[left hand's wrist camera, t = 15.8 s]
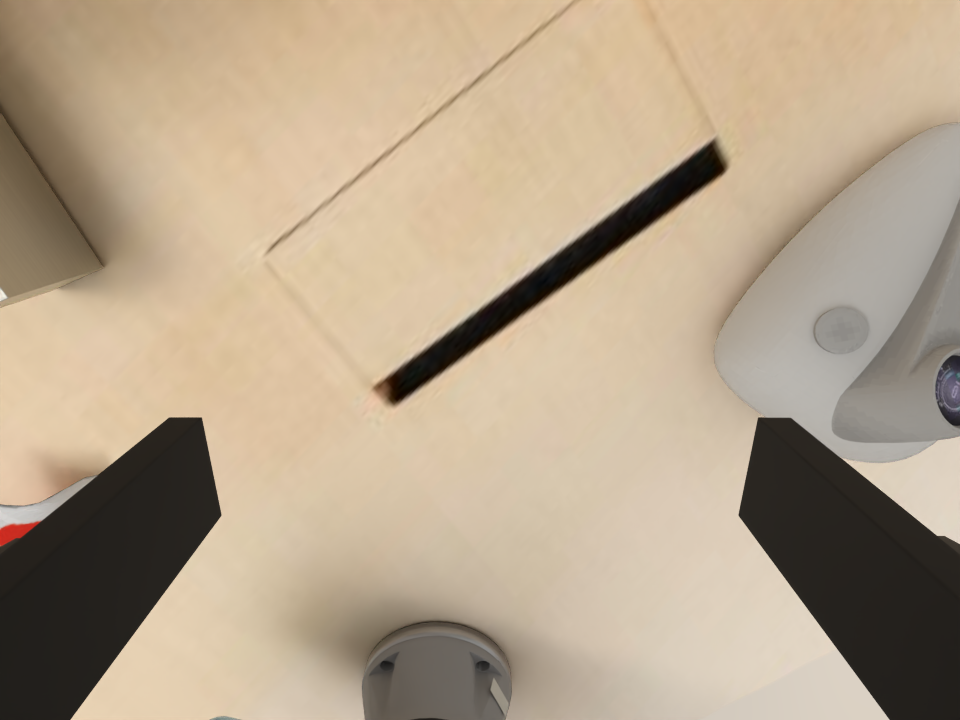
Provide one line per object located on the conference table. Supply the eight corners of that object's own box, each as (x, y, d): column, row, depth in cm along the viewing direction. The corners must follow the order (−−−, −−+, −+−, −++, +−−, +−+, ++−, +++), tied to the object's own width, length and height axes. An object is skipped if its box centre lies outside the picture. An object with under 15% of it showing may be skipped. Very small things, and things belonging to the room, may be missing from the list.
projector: (991, 383, 44) (1223, 482, 30) (716, 455, 46) (815, 578, 33) (996, 102, 37) (1306, 64, 23) (670, 205, 39) (773, 227, 25)
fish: (-114, 538, 44) (-163, 630, 36) (65, 419, 47) (54, 480, 40) (5, 595, 50) (-16, 684, 42) (154, 487, 54) (160, 550, 46)
